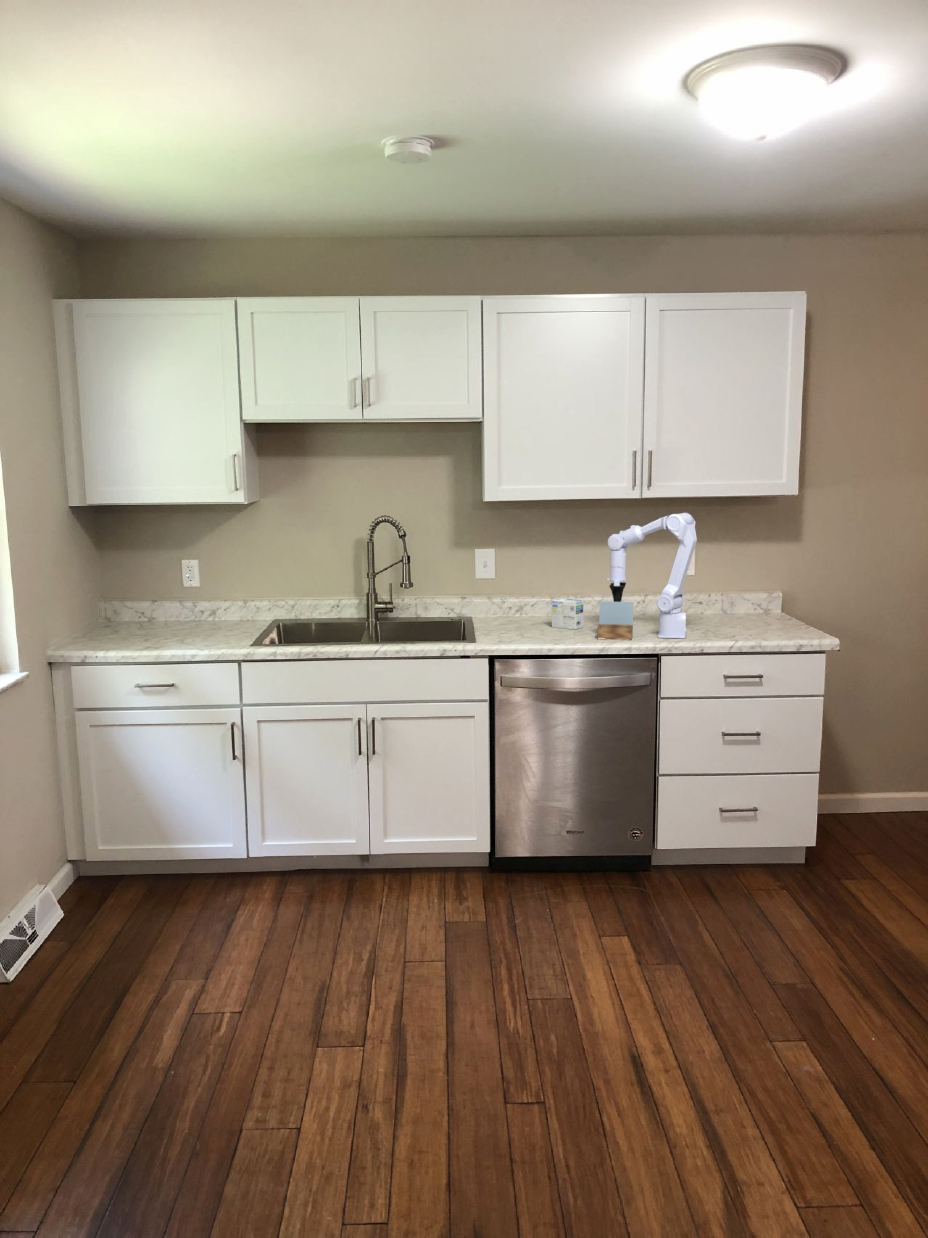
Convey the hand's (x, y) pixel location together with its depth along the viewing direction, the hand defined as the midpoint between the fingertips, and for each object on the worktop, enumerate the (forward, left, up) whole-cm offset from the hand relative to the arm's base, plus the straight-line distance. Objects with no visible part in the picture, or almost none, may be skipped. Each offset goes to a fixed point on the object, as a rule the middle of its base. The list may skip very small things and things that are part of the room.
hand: (617, 603), depth 346 cm
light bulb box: (+19, -5, -11) cm, 22 cm away
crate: (0, +14, -10) cm, 17 cm away
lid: (0, +9, -2) cm, 9 cm away
